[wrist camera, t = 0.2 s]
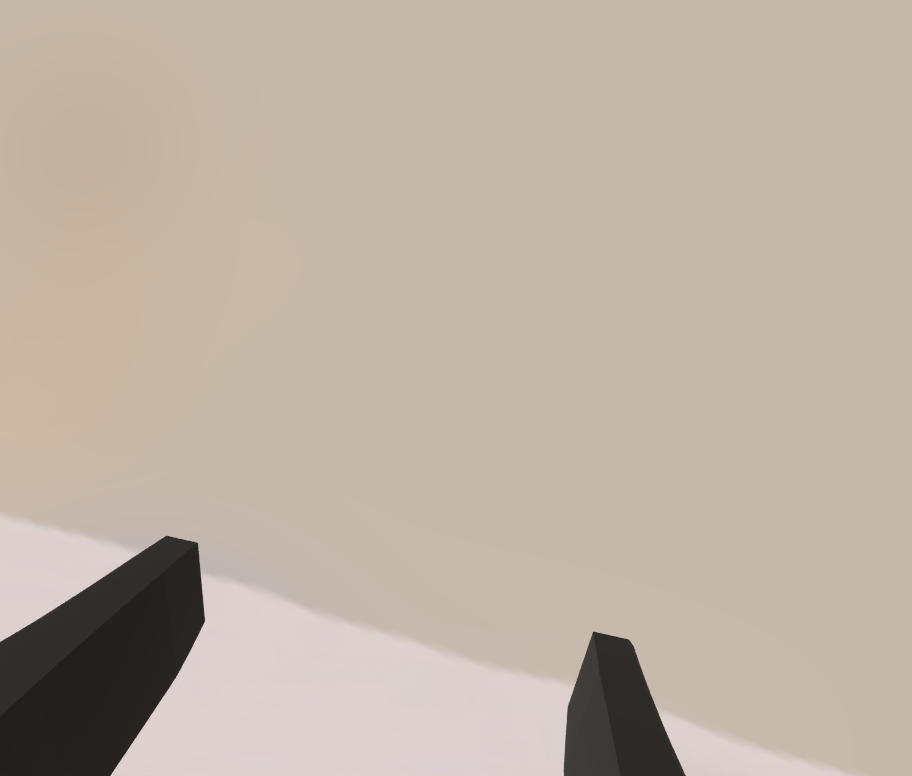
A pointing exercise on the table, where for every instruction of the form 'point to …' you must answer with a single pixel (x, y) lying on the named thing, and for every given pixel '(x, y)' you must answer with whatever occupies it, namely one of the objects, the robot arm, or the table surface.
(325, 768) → the table surface
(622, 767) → the robot arm
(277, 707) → the table surface
